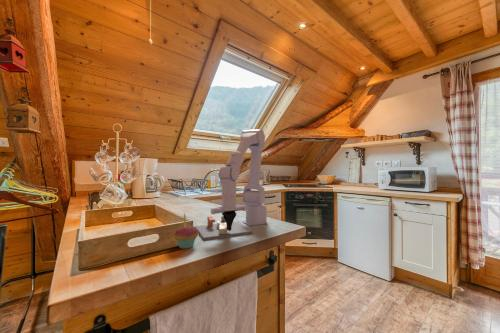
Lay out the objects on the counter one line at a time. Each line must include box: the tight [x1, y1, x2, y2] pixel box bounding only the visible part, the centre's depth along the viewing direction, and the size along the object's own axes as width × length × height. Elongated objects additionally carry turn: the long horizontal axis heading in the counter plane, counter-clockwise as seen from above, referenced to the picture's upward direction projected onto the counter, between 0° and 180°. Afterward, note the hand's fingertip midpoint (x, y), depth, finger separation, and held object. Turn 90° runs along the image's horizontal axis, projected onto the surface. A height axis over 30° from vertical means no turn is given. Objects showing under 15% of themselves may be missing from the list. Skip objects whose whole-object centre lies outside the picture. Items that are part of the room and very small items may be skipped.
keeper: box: [206, 215, 216, 227], centre depth 99 cm, size 2×5×5 cm, turn 24°
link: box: [216, 219, 227, 234], centre depth 96 cm, size 14×5×2 cm, turn 7°
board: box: [194, 220, 254, 241], centre depth 97 cm, size 20×16×1 cm
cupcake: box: [174, 212, 199, 249], centre depth 80 cm, size 9×8×12 cm
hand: (228, 230), depth 91 cm, fingers closed, pressing on link
